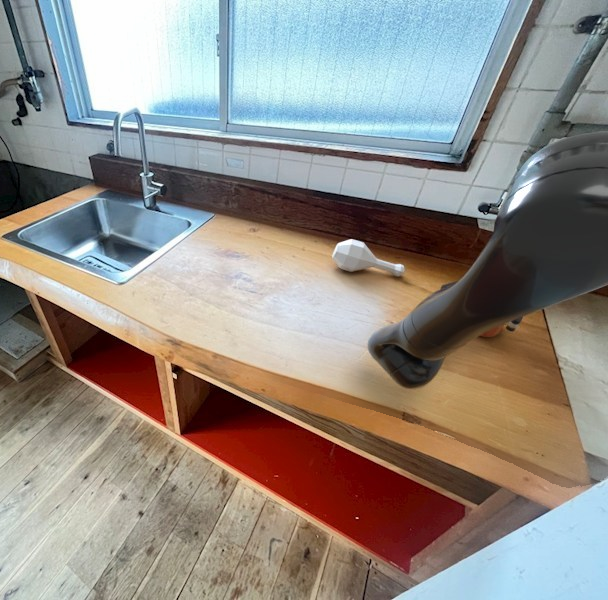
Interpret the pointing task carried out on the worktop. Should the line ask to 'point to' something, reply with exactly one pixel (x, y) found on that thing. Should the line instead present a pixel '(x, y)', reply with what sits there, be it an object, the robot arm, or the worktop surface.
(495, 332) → the can holder
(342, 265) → the chicken leg
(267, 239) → the worktop surface
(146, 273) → the worktop surface
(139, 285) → the worktop surface
